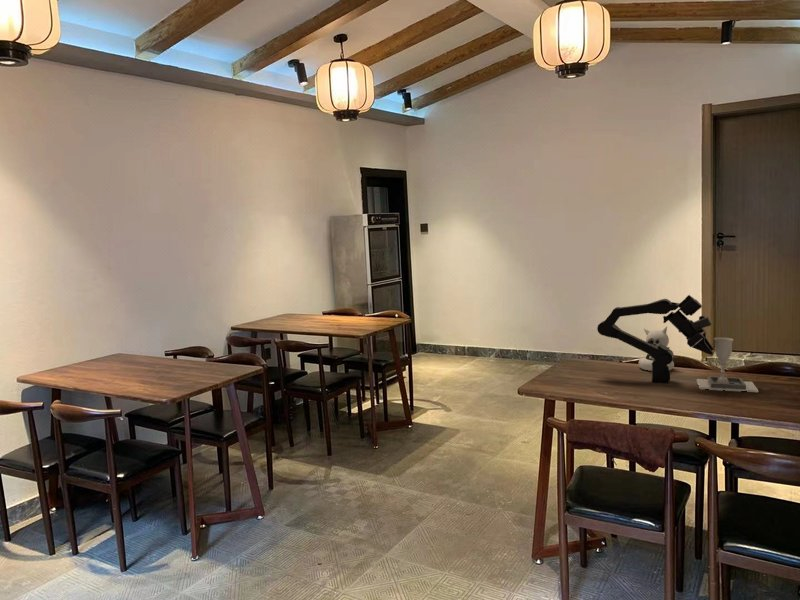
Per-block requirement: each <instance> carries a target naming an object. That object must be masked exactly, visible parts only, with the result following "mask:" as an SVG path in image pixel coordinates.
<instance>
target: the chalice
mask: <svg viewBox="0 0 800 600" xmlns="http://www.w3.org/2000/svg"><path fill="white" fill-rule="evenodd" d="M713 340H714V353H715V356H716V357H717V360H718V361H719V362H721V366H720V369H721V370H720V374H721V375H720V376H718V377H719V378H718V380H717V382H716V383H723V384H730V383H729V381H728V379H727V378H725V373H726V371H725V368H726V366H725V363H727V362H728V360H729V359H730V357H731V354H732V353H733V342H734V338H730V337H714V338H713Z"/></svg>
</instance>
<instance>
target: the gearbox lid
mask: <svg viewBox="0 0 800 600" xmlns="http://www.w3.org/2000/svg"><path fill="white" fill-rule="evenodd" d="M719 377H720V376H709V375H708V376H707V379H705V378H703V379H702V378H696V383H697V386H698V385H699V386H698V388H699V390H705V389H709V391H723V390H725V391H726V392H741V391H747V392H746V393H759V389H758V388H757V387H756V385H755V384H754V382H753V381H744V380H743V378H742V377H725V378H727V379H728V381H729V383H730V384H723V383H716V382H717V380H718V378H719Z"/></svg>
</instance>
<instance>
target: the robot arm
mask: <svg viewBox="0 0 800 600" xmlns="http://www.w3.org/2000/svg"><path fill="white" fill-rule="evenodd" d="M701 308H703V305H702V304H701V303H700V302H699V301H698V300H697V299H696V298H694V297H693V296H691V295H690V294H688V295H687V296H686V297H685V298H684V299H683V300H682V301H680V302H679V303H678V302H674V301H673V302H672V301H671V300H669V299H668V298H663V299H658V300H655V301H652V302H650V303H645V304H638V305H637V304H636V305H630V306H629V305H628V306H617V307H615V308H613V310H611V313H610V314H609V315H608V316H607V318H606V319H605V320H603V321H601V322H600V323H599V324H598V325H597V328H596V330H597V333H599V335H601V336H604V337H607V338H612V339H617V340H619V341H621V342H623V343H625V344H627V345H629V346H631V347H633V348H635V349H637V350H640V351H641V352H644V353H646V354H649V355H650V356H651V357H653V358H654V360H653V362H652V371H651V383H660V384H662V383H664V384H669V383H670V382H671V370H669V367H668V366H667V364H670V363H671V362H672V361H673V360H674V357H675V355H674V351H672V349H671V347H669V346H667V347H666V346H664V345H662V344H661V343H660V344H659V346H655V345H652V344H650V343H648V342H646V340H643V339H642V338H640V337H637V336H635V335H633V334H631V333H628V332H627V331H624V330H623V329H621V328H620V327H619V326H618V325H616V323H617V321H618V320H619V319H620V318H621V317H629V316H635V315H636V316H637V315H643V314H653V315H654V314H655V315H663V316H662V318H663V324H666V323H667V322H668V321H669V322H670V323H671V324H672V325H673V327H675V328H676V329H677V331H678V332H679V333H681V334H682V335H683V336H684V337H685V339H686V342H687V343H686V344H687V345H688V346H689V348H692V349H695V350H698V351H700V352H703V353H705V354H708V355H710V356H712V355H714V352H713V350H714V347H713V346H712V344H711V342H710V341H709V340H708V339H707V336H706V335H707V333H706V330H705V328H706V327H710V326H712V322H711V319H710V318H709V316H705V315H700V316H698V320H696V321H693V319H692V320H691V319H689V317H688V318H687V316H691V317H692V316H693V315H694V314H696V312H698V311H699V310H701ZM673 311H675V312H673Z"/></svg>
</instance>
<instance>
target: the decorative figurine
mask: <svg viewBox="0 0 800 600" xmlns="http://www.w3.org/2000/svg"><path fill="white" fill-rule="evenodd" d="M643 330H644V332H645V334H646V337H645V341H646V342H648V343H650V344H652V345H655V346H659V344H660V343H661V344H662V345H664V346H666V347H668V345H669V343H670V342H669V341H670V339H669V336H668V334H667V331H668V326H666V327H664V328H663V329H662V330H661V329H653V330H649V329H645V328H643ZM653 360H654V358H653V357H651V356H650V355H649V354H648V353H646V356H645V357H642V358H640V359H639V360H638V366H639V368H640V369H642V370H645V371H647V370H648V372H652V362H653ZM667 366H668V367H669V370H670V371H671V370H673V368H674V367H675V362H674V361H673V360H672V362H671V363H670V364H667Z"/></svg>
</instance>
